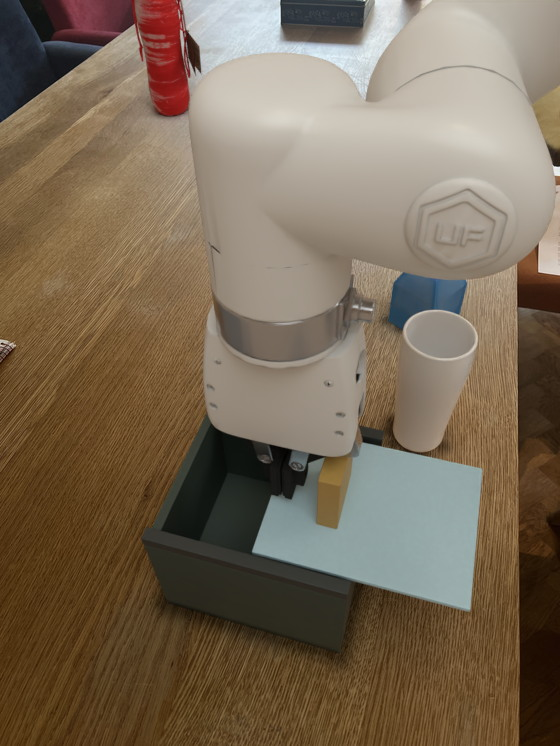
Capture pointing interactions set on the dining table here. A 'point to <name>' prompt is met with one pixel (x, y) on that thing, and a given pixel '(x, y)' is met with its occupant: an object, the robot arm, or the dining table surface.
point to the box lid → (382, 523)
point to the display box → (239, 548)
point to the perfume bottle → (424, 296)
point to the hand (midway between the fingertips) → (287, 481)
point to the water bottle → (166, 53)
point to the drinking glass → (431, 376)
